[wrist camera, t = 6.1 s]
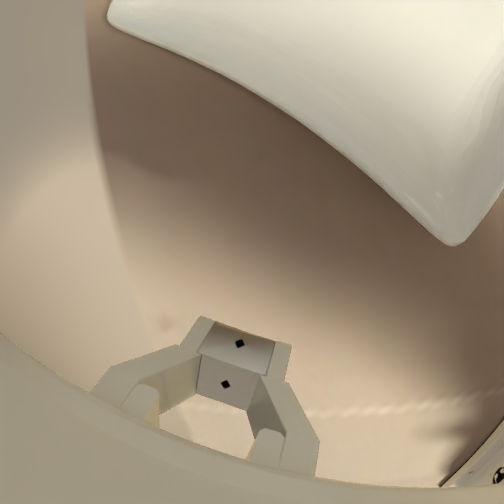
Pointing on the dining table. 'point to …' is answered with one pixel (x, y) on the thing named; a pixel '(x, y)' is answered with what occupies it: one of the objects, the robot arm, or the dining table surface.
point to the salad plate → (365, 85)
